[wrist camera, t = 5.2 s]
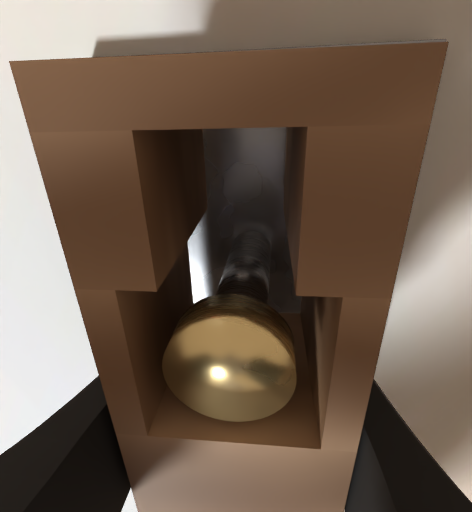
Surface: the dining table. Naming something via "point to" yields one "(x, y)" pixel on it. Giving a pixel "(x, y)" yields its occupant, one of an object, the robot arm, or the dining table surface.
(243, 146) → the hook plate
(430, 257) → the dining table surface
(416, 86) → the block
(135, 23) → the dining table surface
